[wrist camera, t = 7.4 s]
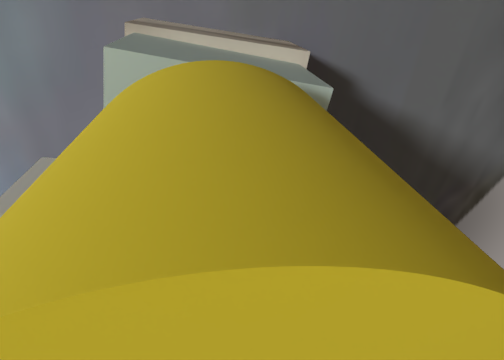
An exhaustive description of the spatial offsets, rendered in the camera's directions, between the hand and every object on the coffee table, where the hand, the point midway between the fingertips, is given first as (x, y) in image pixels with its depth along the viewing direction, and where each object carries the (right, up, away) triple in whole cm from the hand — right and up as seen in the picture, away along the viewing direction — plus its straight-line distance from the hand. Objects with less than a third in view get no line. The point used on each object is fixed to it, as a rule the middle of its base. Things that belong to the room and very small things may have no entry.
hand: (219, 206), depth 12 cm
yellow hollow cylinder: (0, 0, +1) cm, 1 cm away
